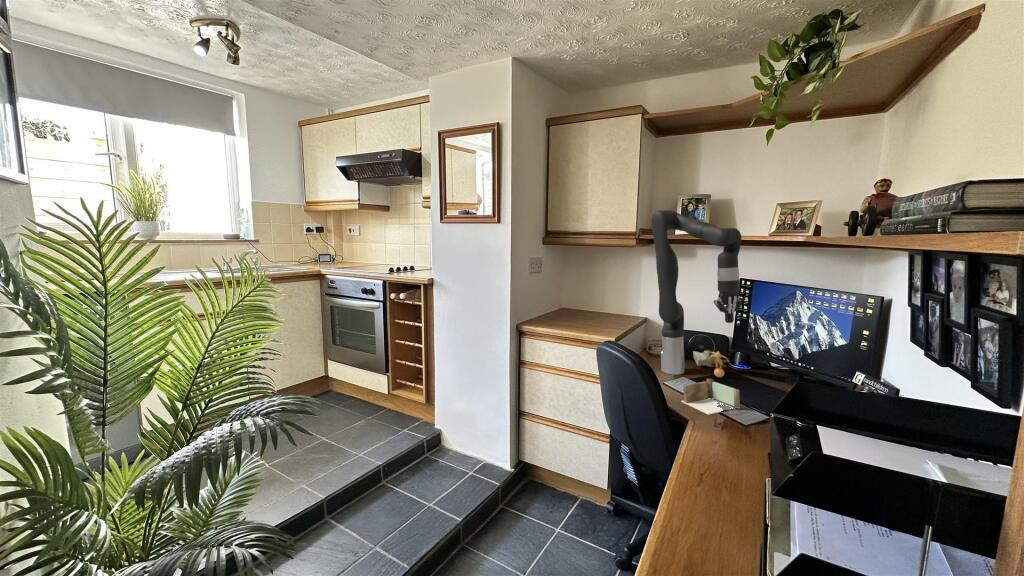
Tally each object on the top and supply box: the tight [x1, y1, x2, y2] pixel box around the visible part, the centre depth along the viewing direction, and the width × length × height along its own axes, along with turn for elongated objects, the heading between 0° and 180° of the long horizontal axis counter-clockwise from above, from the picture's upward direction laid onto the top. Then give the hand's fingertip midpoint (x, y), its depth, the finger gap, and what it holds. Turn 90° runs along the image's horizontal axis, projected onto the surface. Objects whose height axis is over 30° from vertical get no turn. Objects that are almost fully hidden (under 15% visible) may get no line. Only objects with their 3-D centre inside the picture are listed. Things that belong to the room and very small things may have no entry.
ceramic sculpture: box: [692, 349, 728, 369], centre depth 187 cm, size 11×9×15 cm
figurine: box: [708, 350, 730, 378], centre depth 170 cm, size 8×6×12 cm
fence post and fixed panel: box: [683, 378, 715, 403], centre depth 147 cm, size 13×2×7 cm, turn 106°
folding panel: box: [712, 381, 741, 408], centre depth 142 cm, size 11×2×6 cm, turn 19°
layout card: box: [681, 399, 741, 416], centre depth 143 cm, size 14×14×1 cm
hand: (729, 322), depth 155 cm, fingers closed
